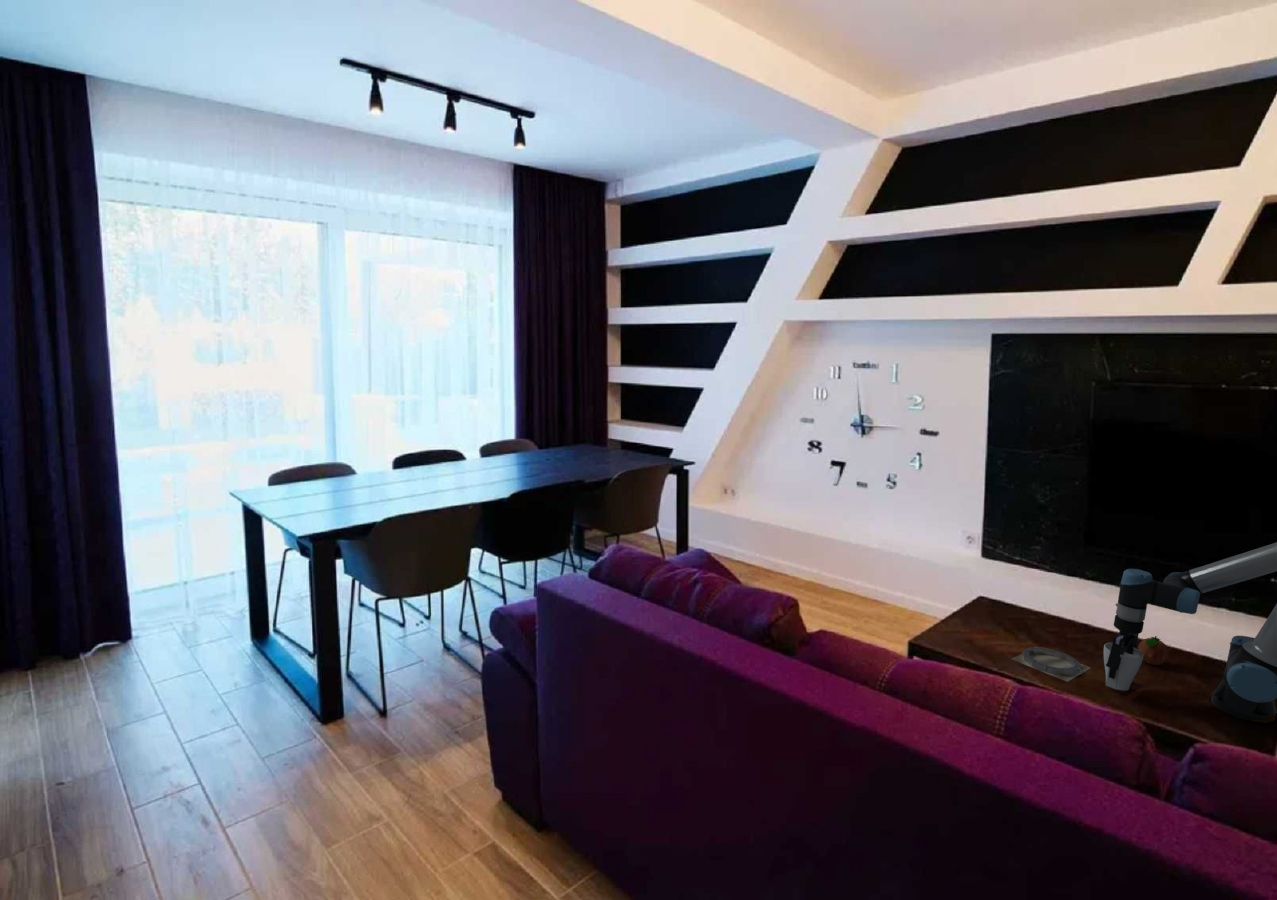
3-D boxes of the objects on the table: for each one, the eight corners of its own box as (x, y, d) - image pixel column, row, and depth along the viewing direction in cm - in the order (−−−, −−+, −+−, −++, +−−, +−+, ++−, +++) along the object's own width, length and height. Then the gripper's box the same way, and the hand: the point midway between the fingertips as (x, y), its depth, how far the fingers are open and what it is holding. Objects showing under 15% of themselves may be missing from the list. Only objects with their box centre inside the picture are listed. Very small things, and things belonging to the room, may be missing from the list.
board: (1090, 670, 234) (1091, 667, 233) (1066, 685, 223) (1067, 681, 223) (1035, 649, 248) (1035, 646, 248) (1010, 662, 237) (1011, 658, 237)
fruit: (1170, 665, 241) (1176, 638, 239) (1159, 671, 235) (1164, 644, 234) (1142, 654, 248) (1147, 628, 246) (1130, 660, 243) (1135, 634, 241)
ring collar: (1087, 667, 234) (1088, 662, 233) (1065, 680, 224) (1066, 674, 224) (1037, 647, 247) (1037, 643, 246) (1014, 659, 237) (1015, 654, 237)
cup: (1098, 677, 229) (1104, 639, 227) (1136, 687, 223) (1143, 649, 221) (1096, 689, 221) (1103, 650, 219) (1136, 701, 215) (1143, 661, 213)
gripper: (1130, 606, 227) (1118, 668, 231) (1101, 620, 214) (1089, 686, 218) (1157, 614, 221) (1144, 678, 225) (1129, 630, 208) (1116, 697, 212)
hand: (1117, 682), depth 222 cm, fingers closed on cup, 10 cm apart
